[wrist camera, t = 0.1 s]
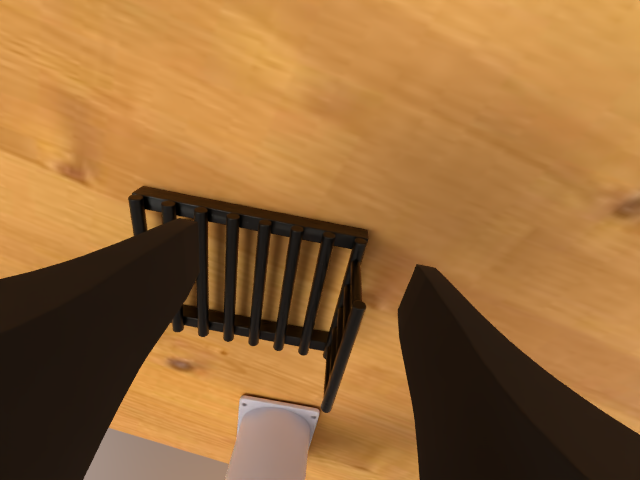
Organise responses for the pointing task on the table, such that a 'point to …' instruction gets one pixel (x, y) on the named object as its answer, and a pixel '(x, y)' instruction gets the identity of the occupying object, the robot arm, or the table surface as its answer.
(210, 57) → the table surface
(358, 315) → the rack
